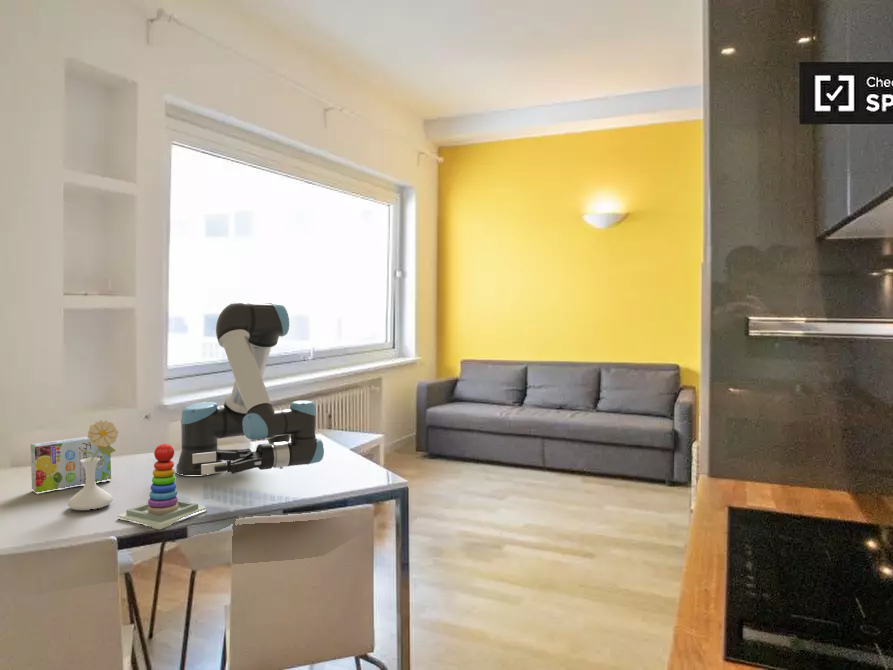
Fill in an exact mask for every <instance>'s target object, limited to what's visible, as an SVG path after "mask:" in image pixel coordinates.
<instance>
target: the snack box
mask: <svg viewBox="0 0 893 670" xmlns="http://www.w3.org/2000/svg"><path fill="white" fill-rule="evenodd" d="M109 446H110V447H111V444H109ZM101 447H102V446H100V448H101ZM98 448H99V446H97V445H95V444H94V445H93V444H92V441H90V440H89V438H88V437H87V436H83V437H82V436H81V437H73V438H66V439H61V440H60V439H58V440H53V441H51V440H50V441H43V442H37V443H36V442H34V443H31V444H30V466H31V467H30V468H31V471H30V472H31V490H32V489H33V490H34V491H35V492H42V491H47V490H53V489H58V488H65V487H70V486H75V485H81V484H85V483H86V473H85V468H84V466H83V464H82V463H81V462H80V460H82V459H85V458H92V457H93V456H94V455H92V454H88V453H84V452H82V451H81V450H80V449H82V450H84V451H88V452H92V453H93V454H95V453H96V451H97V450H98ZM94 458H100V460H99V461H98V463H97V465H96V469H95V482H97V481H102V480H107V479H111V480H112V468H111V467H112V465H111V464H112V463H111V462H112V461H111V458H112V457H111V453H109V454H103V453H102V452H101V451H100V450H98V452H97V453H96V455H95V456H94Z"/></svg>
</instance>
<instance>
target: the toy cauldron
mask: <svg viewBox="0 0 893 670" xmlns="http://www.w3.org/2000/svg"><path fill="white" fill-rule="evenodd" d="M287 441H291V438H290V434H289V435H281V436H274V437H268V438H267V443H270V444H272V443H275V442H287Z"/></svg>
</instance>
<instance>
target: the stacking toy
mask: <svg viewBox="0 0 893 670" xmlns="http://www.w3.org/2000/svg"><path fill="white" fill-rule="evenodd" d="M153 455H154V458H155V460H157V461H155V462H154V464H153V467H154V470H153V471H152V476H153V477H152V479H151V482H152V483H151V485H150V490H151V491H150V492H149V499H148V501H147V503H148V504H149V506H148V508H147V511H148V512H149V513H151V514H155V515H164V514H167V513H170V512H172V511H175V510H178V508H179V505H178V503H177V501H178V500H179V499H178V496H177V495H178V490H177V489H176V488H177V483H176V482H175V481H176V480H177V479H176V476H175V475H174V474H175V470H174V466H175V462H174V461H172V459H173V458H174V456H175V449H174V447H173V446H172V445H171V444H168V443H162V444H159V445H157V447H156V448H155V449H154V453H153Z"/></svg>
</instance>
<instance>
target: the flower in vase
mask: <svg viewBox="0 0 893 670" xmlns="http://www.w3.org/2000/svg"><path fill="white" fill-rule="evenodd" d="M118 434H119V429H117V426H116V425H115V424H114V423H113V422H112V421H109V420H103V419H101V420H99V421H95V423H93V424H91V425H89V429H88V431H87V436H86V437H88V438H89V440H90V441H92V444H93V445H94V444H95V445H97V446H99V448H98V450H100V451H101V452H102V453H103V454H109V453H110V454H112V453H114V452H116V449H115V448H114V447H112V446H111V444H113V443H115V442H117V438H118V436H119V435H118ZM109 444H110V446H109ZM100 446H102V447H101V448H100ZM80 450H81V451H82V452H84V453H88V454H92V455H94V456H95V455H96V453H97V452H98V450H97V451H96V453H95V454H93V453H92V452H88V451H84V450H82V449H80ZM94 456H93V457H92V458H85V459H82V460H80V462H81V463H82V464H83V466H84V468H85V473H86V483H85V486H83V488H81V489H80V490H79V491H78V492H76V493H75V494H74V495H73V496H72V497H71V498H70V499H69V500H68V503H67V506H68V507H69V508H70V509H71V510H75V511H91V510H90V509H93V510H98V509H101V508H104V507H106V506H108V505H110V504H111V503H112V502H113V501H114V497H113V496H112V495H111V494H110V493H109V492H108V491H106V490H104V489H102V488H101V487H100V486H99V485H98V484H96V483H95V469H96V465H97V463H98V461H99V460H100V458H94ZM97 508H98V509H97Z"/></svg>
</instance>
